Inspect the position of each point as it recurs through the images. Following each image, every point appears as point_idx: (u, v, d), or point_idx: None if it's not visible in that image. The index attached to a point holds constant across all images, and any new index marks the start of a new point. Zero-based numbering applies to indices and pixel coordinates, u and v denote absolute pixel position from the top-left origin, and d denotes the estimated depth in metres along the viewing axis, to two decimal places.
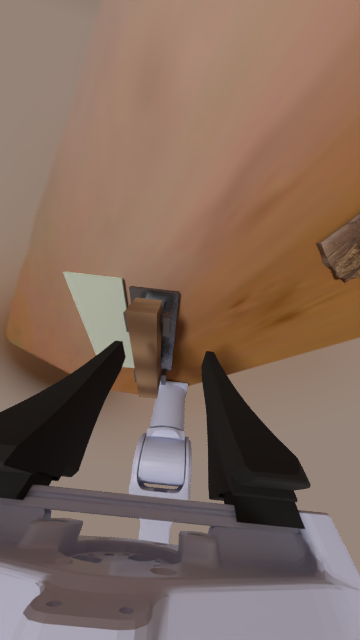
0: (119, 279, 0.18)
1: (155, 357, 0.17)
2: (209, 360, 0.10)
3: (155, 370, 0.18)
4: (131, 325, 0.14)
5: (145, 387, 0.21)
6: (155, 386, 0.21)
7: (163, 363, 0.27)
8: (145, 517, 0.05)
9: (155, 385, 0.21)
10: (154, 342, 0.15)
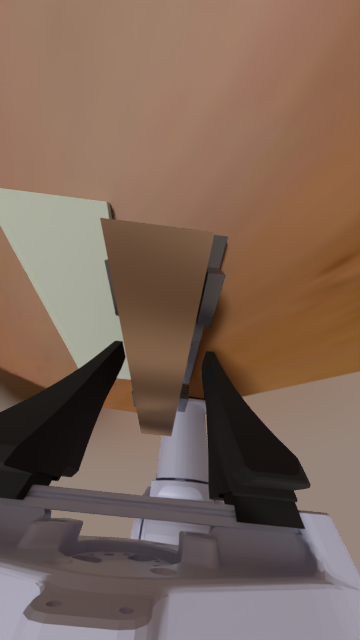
0: (102, 203, 0.08)
1: (181, 373, 0.07)
2: (209, 360, 0.10)
3: (176, 397, 0.09)
4: (123, 282, 0.05)
5: (152, 421, 0.12)
6: (171, 421, 0.11)
7: None
8: (145, 517, 0.05)
9: (171, 420, 0.11)
10: (185, 338, 0.06)
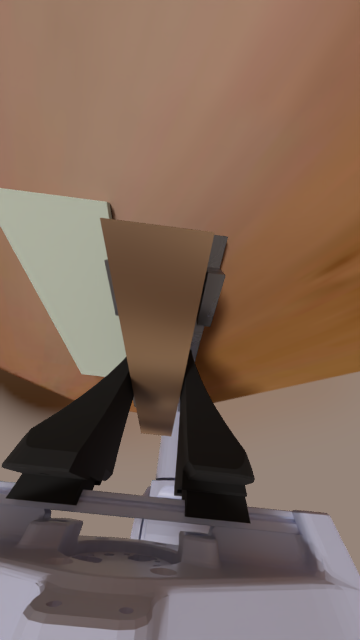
0: (102, 203, 0.08)
1: (181, 373, 0.07)
2: None
3: (176, 397, 0.09)
4: (123, 282, 0.05)
5: (152, 421, 0.12)
6: (171, 421, 0.11)
7: None
8: (145, 517, 0.05)
9: (171, 420, 0.11)
10: (185, 338, 0.06)
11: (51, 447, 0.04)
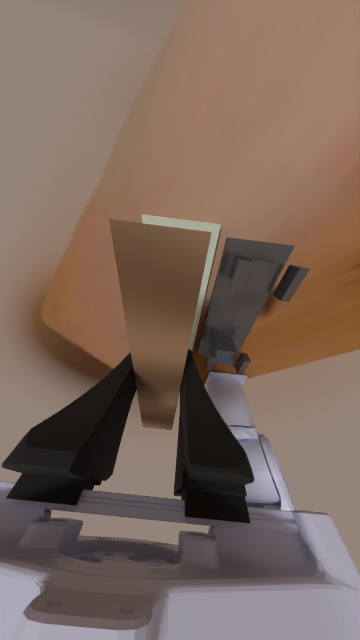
0: (217, 225, 0.13)
1: (181, 365, 0.08)
2: None
3: (177, 389, 0.09)
4: (128, 278, 0.05)
5: (154, 414, 0.12)
6: (172, 414, 0.12)
7: None
8: (145, 517, 0.05)
9: (172, 413, 0.12)
10: (185, 331, 0.06)
11: (51, 447, 0.04)
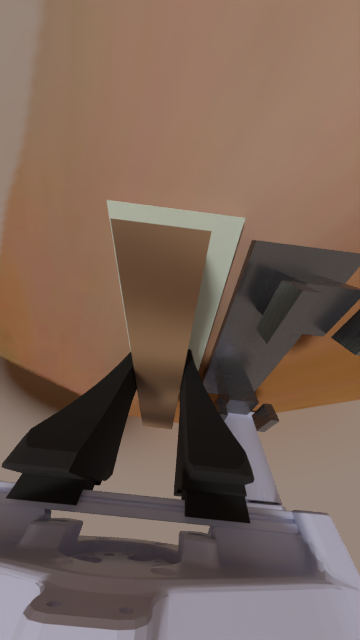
0: (239, 219, 0.07)
1: (181, 364, 0.08)
2: None
3: (177, 388, 0.09)
4: (129, 276, 0.05)
5: (154, 413, 0.12)
6: (172, 413, 0.12)
7: None
8: (145, 517, 0.05)
9: (172, 412, 0.12)
10: (185, 329, 0.06)
11: (51, 447, 0.04)
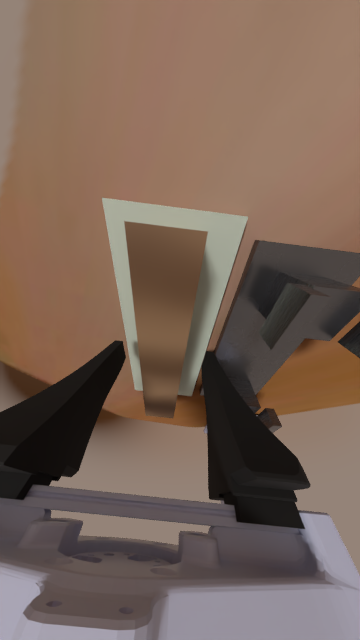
0: (241, 218, 0.07)
1: (182, 351, 0.09)
2: (209, 360, 0.10)
3: (178, 376, 0.10)
4: (138, 270, 0.06)
5: (156, 402, 0.13)
6: (173, 401, 0.13)
7: None
8: (145, 517, 0.05)
9: (174, 400, 0.12)
10: (186, 318, 0.07)
11: None
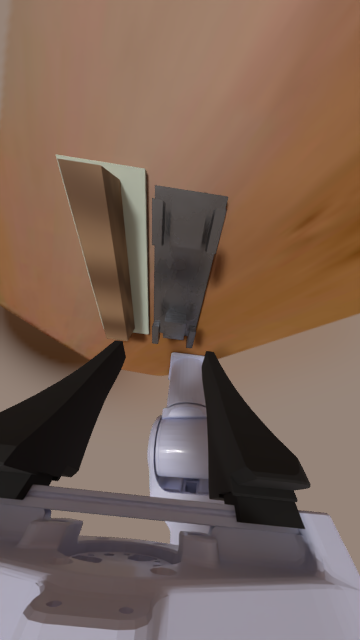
0: (141, 170, 0.12)
1: (113, 261, 0.13)
2: (209, 360, 0.10)
3: (117, 288, 0.15)
4: (71, 192, 0.10)
5: (110, 320, 0.18)
6: (122, 318, 0.17)
7: (185, 326, 0.21)
8: (145, 517, 0.05)
9: (122, 317, 0.17)
10: (107, 230, 0.12)
11: None
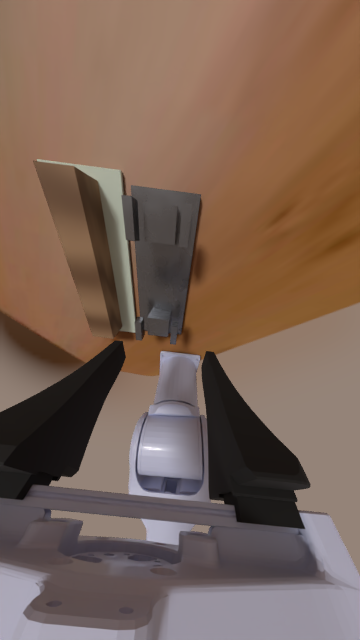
0: (117, 171, 0.12)
1: (93, 258, 0.14)
2: (209, 360, 0.10)
3: (99, 284, 0.15)
4: (48, 192, 0.11)
5: (95, 317, 0.18)
6: (106, 315, 0.18)
7: (171, 323, 0.21)
8: (145, 517, 0.05)
9: (106, 313, 0.17)
10: (84, 227, 0.12)
11: None
